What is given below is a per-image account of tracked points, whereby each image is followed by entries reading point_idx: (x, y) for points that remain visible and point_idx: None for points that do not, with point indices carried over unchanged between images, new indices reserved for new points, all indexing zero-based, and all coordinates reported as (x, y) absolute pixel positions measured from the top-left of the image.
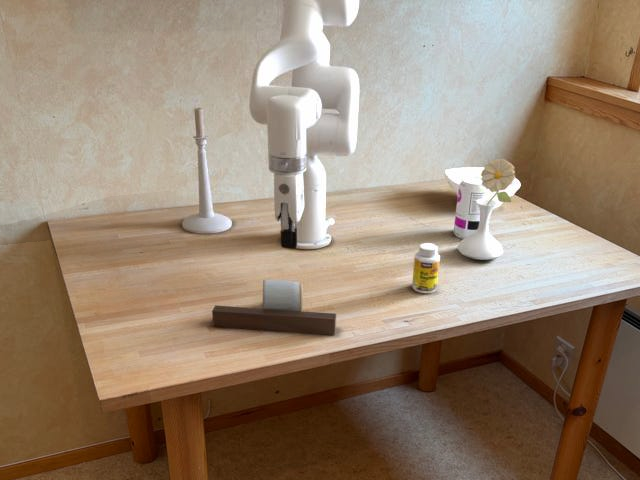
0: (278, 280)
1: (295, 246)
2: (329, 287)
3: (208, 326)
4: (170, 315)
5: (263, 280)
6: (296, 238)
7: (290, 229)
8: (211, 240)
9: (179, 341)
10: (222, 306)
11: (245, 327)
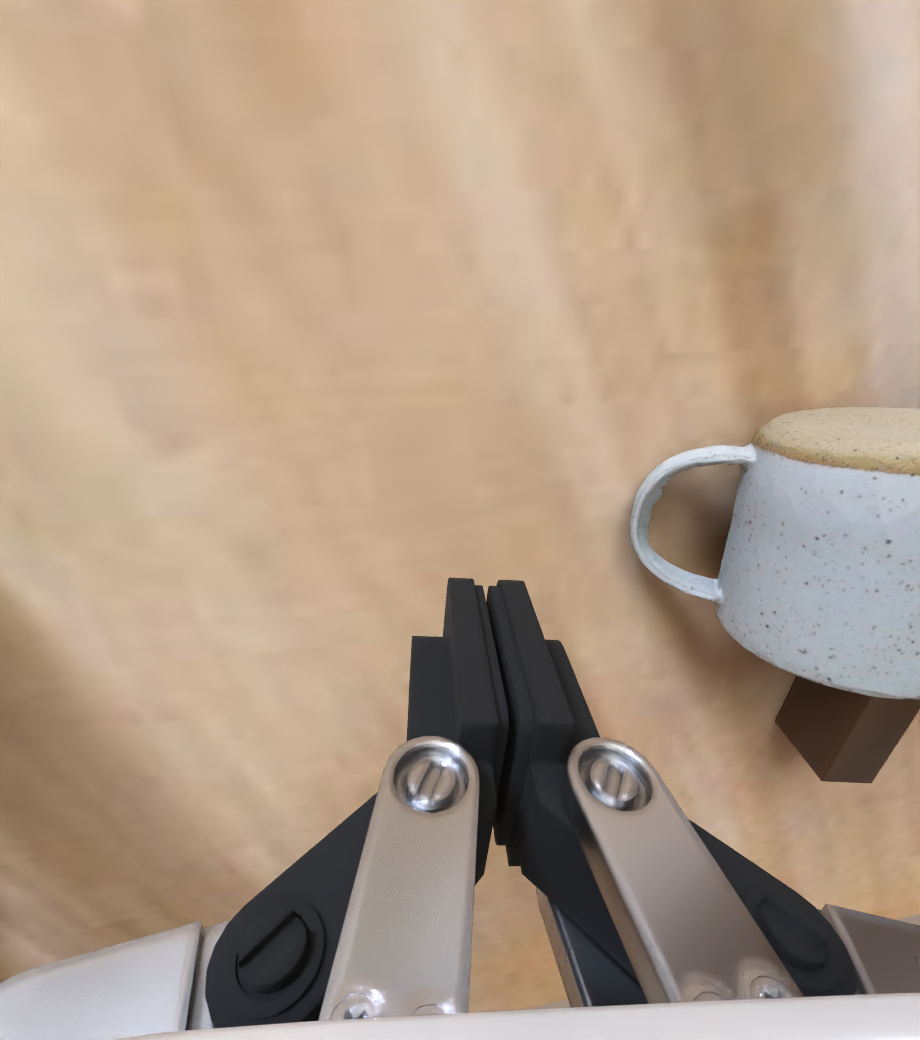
0: (911, 617)
1: (525, 591)
2: (451, 241)
3: None
4: None
5: (891, 697)
6: (482, 628)
7: (712, 839)
8: (22, 830)
9: (889, 788)
10: (840, 759)
11: None
